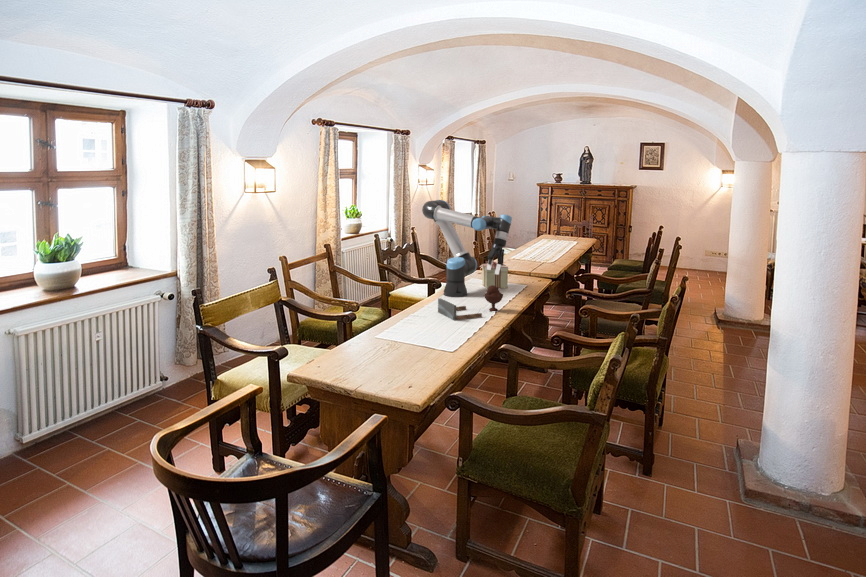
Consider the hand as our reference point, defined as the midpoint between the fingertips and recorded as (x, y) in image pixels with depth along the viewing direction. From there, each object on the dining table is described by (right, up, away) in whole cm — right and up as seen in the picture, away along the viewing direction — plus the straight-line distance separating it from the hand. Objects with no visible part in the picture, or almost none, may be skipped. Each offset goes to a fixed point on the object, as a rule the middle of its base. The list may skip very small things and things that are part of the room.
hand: (492, 272), depth 370 cm
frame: (-22, -25, -36) cm, 49 cm away
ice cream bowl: (-2, -23, -26) cm, 35 cm away
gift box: (+4, -9, +39) cm, 40 cm away
